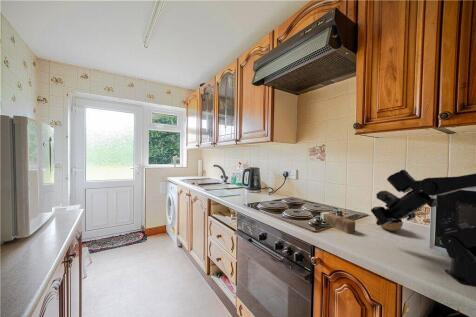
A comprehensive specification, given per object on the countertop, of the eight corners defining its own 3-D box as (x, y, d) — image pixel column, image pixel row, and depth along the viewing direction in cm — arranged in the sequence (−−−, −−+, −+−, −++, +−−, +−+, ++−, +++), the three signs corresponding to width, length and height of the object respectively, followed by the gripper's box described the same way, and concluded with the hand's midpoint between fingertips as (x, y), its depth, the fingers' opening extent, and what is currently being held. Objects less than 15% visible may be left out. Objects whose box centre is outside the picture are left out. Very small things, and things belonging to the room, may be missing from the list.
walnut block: (355, 221, 93) (327, 211, 108) (347, 222, 91) (320, 212, 106) (354, 232, 93) (327, 221, 108) (347, 233, 91) (320, 222, 106)
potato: (390, 225, 105) (391, 210, 104) (408, 235, 91) (409, 218, 90) (370, 223, 106) (370, 208, 106) (384, 233, 92) (385, 216, 92)
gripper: (406, 184, 81) (377, 205, 91) (376, 185, 73) (349, 208, 83) (431, 208, 73) (397, 228, 83) (400, 212, 66) (367, 234, 76)
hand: (377, 224), depth 82 cm, fingers closed
